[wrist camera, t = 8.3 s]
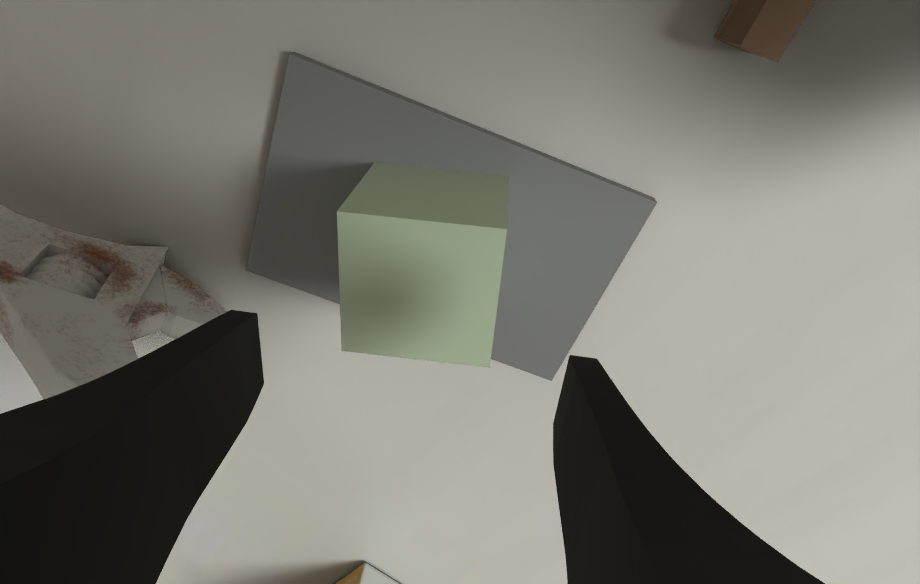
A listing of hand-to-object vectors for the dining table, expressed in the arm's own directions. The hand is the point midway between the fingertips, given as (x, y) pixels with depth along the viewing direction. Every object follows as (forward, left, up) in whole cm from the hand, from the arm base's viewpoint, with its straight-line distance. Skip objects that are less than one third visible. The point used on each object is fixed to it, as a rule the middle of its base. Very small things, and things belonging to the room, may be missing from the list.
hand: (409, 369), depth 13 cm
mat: (0, +1, -10) cm, 10 cm away
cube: (0, +1, -10) cm, 10 cm away
